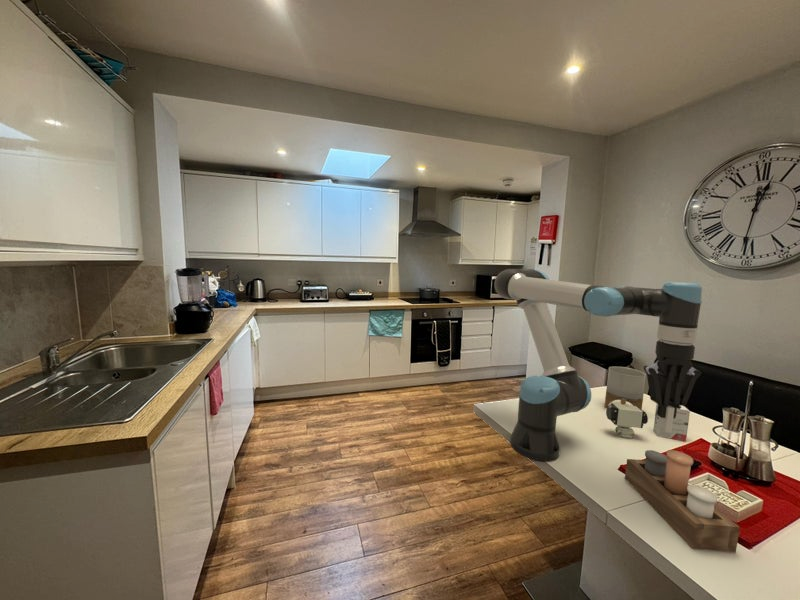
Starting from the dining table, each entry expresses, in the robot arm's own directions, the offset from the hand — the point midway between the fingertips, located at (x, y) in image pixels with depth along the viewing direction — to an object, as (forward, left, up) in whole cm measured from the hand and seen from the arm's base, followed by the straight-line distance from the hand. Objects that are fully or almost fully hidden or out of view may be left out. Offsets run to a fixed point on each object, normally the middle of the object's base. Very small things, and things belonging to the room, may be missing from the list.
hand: (664, 428), depth 84 cm
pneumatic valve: (+11, +31, -19) cm, 38 cm away
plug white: (0, -13, -18) cm, 22 cm away
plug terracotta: (0, -6, -13) cm, 15 cm away
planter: (+23, +53, -19) cm, 61 cm away
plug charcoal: (0, +1, -18) cm, 18 cm away
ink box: (+28, +33, -19) cm, 47 cm away
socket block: (0, -6, -19) cm, 19 cm away
